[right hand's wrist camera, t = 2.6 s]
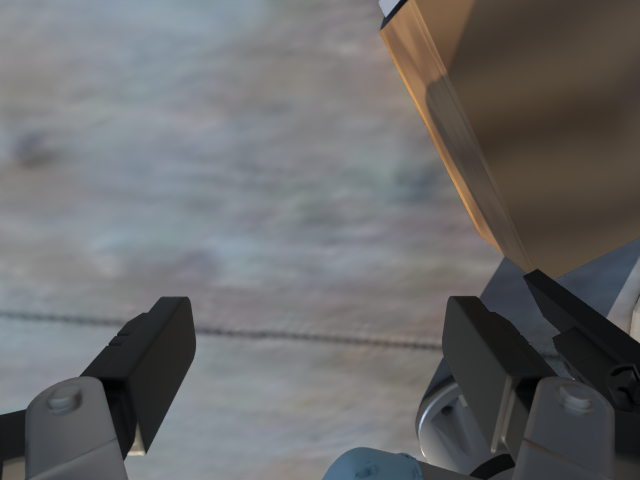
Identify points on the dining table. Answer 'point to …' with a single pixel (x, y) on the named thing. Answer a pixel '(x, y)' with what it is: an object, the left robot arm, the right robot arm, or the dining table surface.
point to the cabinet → (532, 118)
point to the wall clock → (636, 322)
